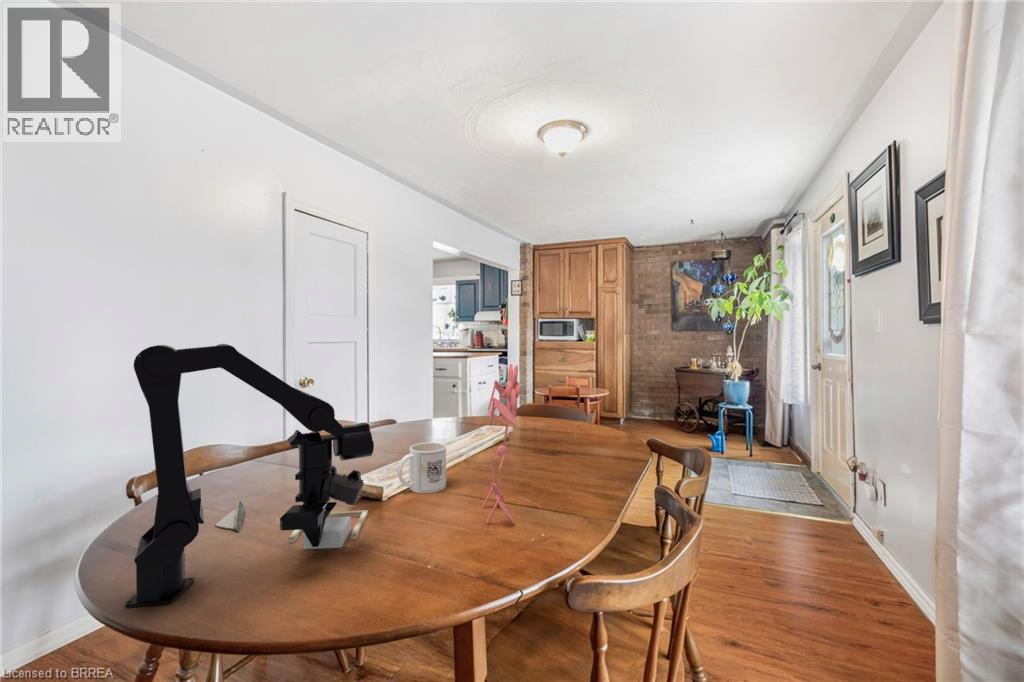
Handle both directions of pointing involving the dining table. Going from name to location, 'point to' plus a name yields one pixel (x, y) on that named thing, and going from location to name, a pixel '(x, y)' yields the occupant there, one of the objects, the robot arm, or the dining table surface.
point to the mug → (425, 467)
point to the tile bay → (357, 528)
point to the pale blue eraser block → (332, 533)
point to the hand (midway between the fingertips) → (316, 546)
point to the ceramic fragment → (232, 519)
